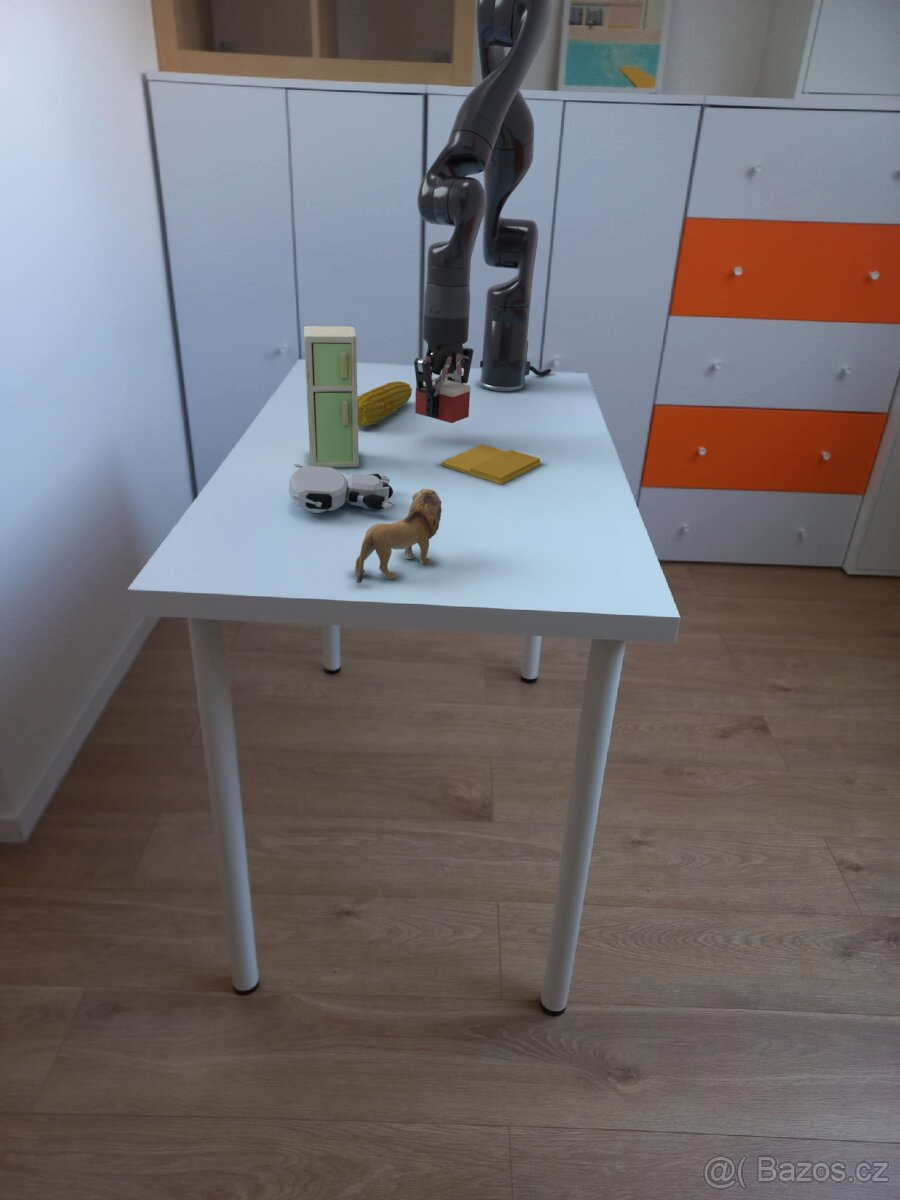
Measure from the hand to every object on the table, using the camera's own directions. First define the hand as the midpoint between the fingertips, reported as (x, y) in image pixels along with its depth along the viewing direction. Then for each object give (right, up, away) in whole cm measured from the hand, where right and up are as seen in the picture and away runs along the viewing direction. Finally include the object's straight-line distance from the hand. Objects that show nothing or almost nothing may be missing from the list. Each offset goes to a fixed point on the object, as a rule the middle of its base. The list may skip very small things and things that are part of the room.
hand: (442, 412), depth 144 cm
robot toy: (-14, -19, -23) cm, 33 cm away
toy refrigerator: (-18, -10, -8) cm, 22 cm away
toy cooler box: (0, 0, 0) cm, 0 cm away
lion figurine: (-5, -28, -38) cm, 48 cm away
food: (-12, +2, +14) cm, 18 cm away
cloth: (+8, -10, -6) cm, 14 cm away
